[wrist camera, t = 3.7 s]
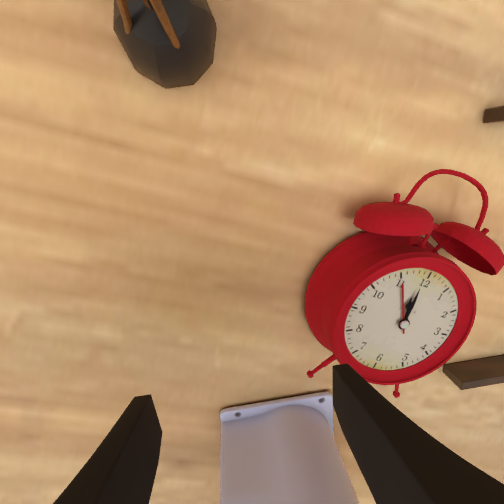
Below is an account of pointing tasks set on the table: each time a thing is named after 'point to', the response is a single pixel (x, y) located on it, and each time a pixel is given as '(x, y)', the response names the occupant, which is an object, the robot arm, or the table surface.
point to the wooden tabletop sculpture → (167, 38)
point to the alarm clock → (399, 290)
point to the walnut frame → (485, 368)
